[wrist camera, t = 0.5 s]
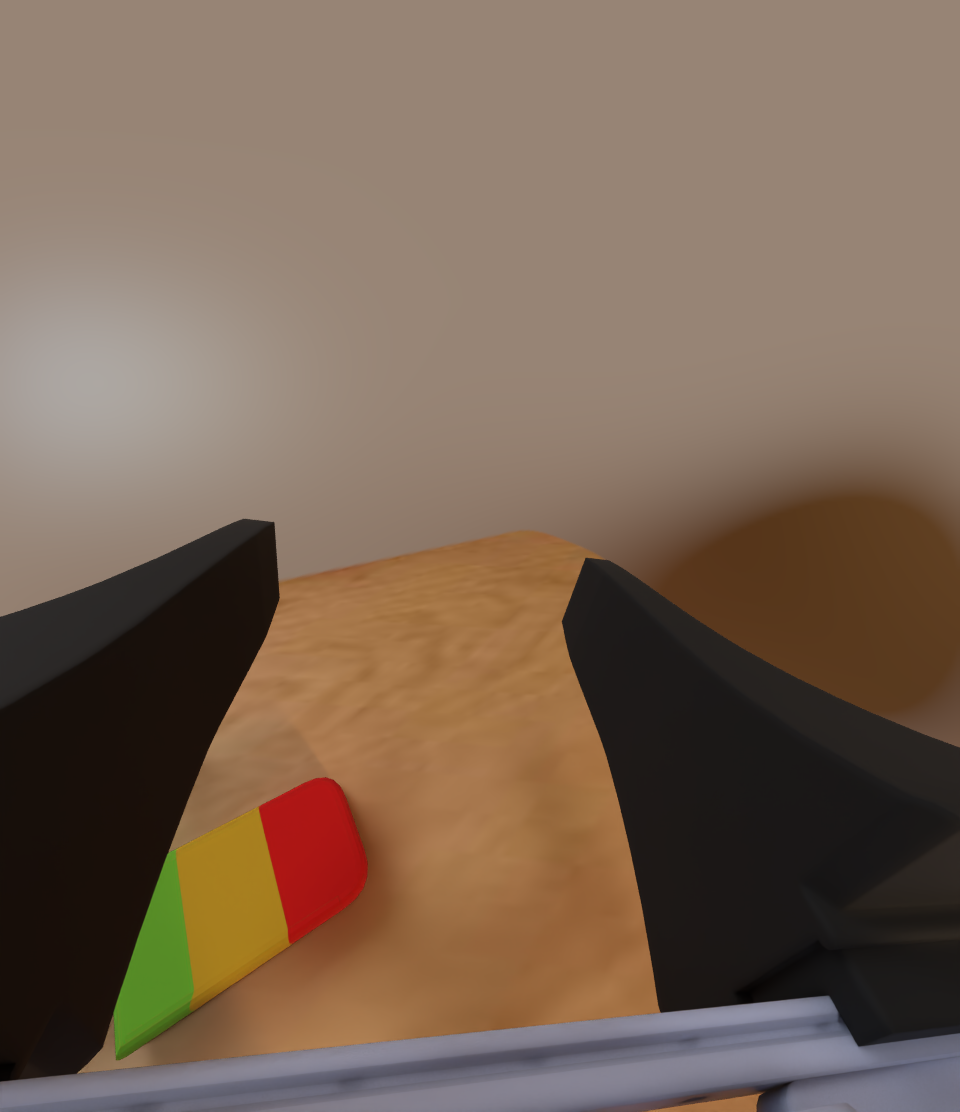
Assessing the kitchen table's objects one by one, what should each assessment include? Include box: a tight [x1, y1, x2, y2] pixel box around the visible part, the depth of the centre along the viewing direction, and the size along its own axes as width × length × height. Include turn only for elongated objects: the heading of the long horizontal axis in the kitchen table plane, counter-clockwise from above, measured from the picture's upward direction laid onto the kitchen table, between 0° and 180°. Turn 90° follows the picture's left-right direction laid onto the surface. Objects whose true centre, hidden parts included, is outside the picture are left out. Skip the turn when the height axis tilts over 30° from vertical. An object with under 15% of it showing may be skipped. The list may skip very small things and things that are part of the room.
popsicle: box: [114, 777, 368, 1060], centre depth 17 cm, size 6×15×2 cm, turn 121°
